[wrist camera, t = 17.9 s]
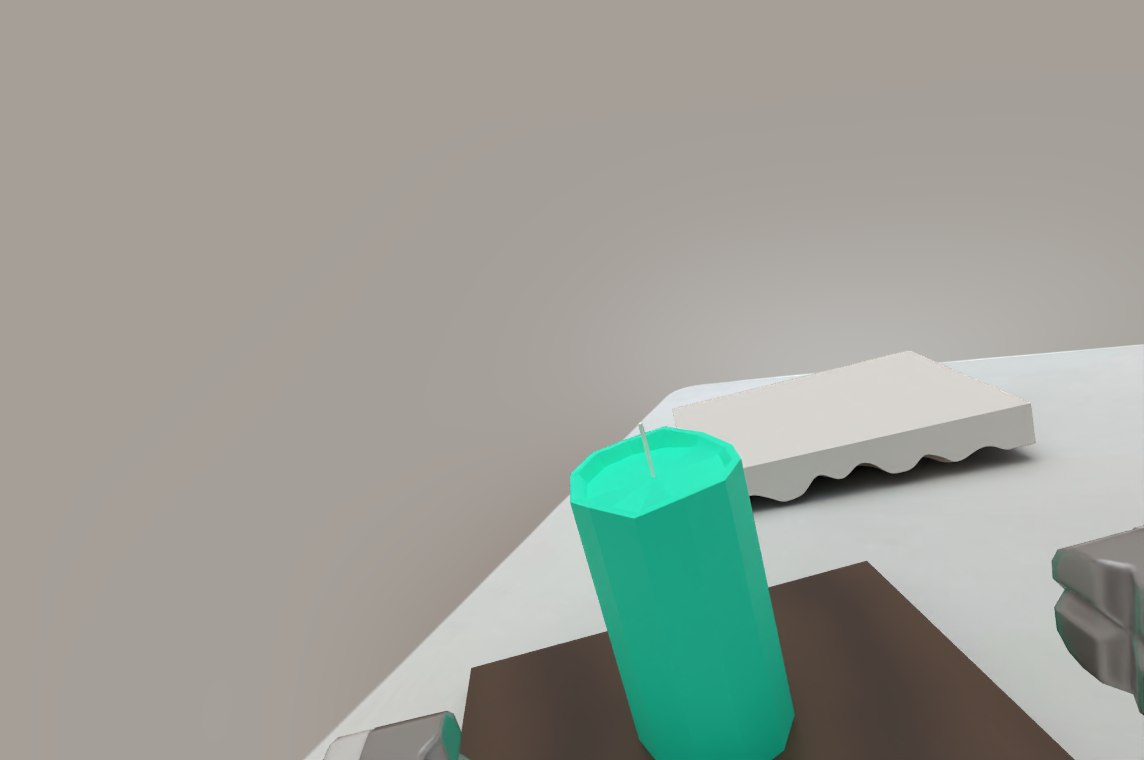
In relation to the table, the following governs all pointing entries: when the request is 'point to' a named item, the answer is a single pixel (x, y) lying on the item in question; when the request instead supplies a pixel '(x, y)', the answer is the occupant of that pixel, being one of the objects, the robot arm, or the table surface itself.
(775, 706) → the candle
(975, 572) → the table surface
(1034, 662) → the table surface
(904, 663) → the walnut board
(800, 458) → the white wavy slab
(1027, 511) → the table surface
